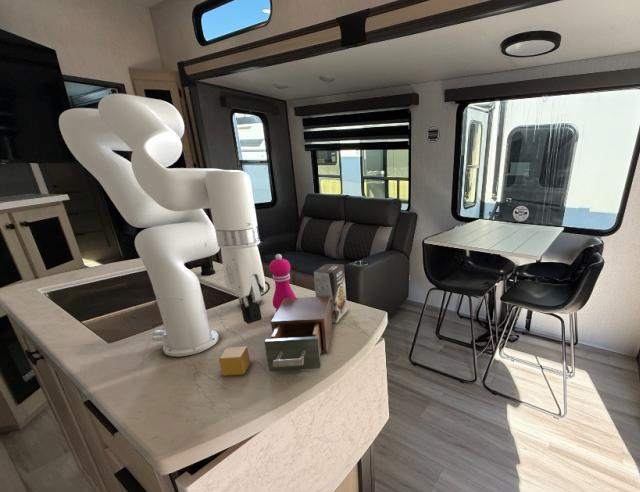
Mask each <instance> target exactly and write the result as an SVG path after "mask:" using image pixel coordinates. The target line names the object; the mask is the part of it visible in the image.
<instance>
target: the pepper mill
mask: <svg viewBox="0 0 640 492" xmlns="http://www.w3.org/2000/svg"><path fill="white" fill-rule="evenodd" d="M290 271H291V264H290V262H289V260H287V259H285V258H283V256H282V254H280V253H276V255H275V259H272V261H271V262H270V263H269V272H270V273H271V274H272V280H273V282H274V284H275V285H274V286H275V287H274V292H273V293H274V294H273V297H272V307H273V308H274V309H275V313H276V312H277V310H278V309H279V307H280V305H281V304H282V302H283V300H284V299H285V298H297V296H296V294H295V293H294V291H293V290H292V287H291V284H290V279H291V274H290Z"/></svg>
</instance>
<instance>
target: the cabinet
mask: <svg viewBox="0 0 640 492" xmlns="http://www.w3.org/2000/svg"><path fill="white" fill-rule="evenodd" d="M276 310H277V309H276ZM311 322H321V327H322V338H323V344H322V349H321V353H320V354H327V353H328V349H329V345H330V339H331V335H332V329H333V323H332V318H331V306H330V296H328V297H316V296H309V297H306V296H305V297H304V296H303V297H296V298H285V299H284V300H283V302H282V304H281V305H280V307H279V309H278V310H277V312H276V311H275V313H274V315H273V317H272V319H271V320H270V326H271V332H272V334H273V332H274V330H275V328H276V326H277V324H291V323H311Z"/></svg>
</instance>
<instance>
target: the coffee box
mask: <svg viewBox="0 0 640 492" xmlns="http://www.w3.org/2000/svg"><path fill="white" fill-rule="evenodd" d="M345 276H346V275H345V264H341V263H340V264H338V263H325V264H323V265H322V266H320V267H319V268H318V269H316V270H314V271H313V280H314V281H313V282H314V292H315V297H328V296H330V306H331V318H332V324H337V323H338V322H339V321H340V319H342V317H343V316H344V315H345V314H346V313H347V311H348V308H347V307H348V306H347V291H346V290H347V289H346V277H345Z"/></svg>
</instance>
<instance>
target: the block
mask: <svg viewBox="0 0 640 492" xmlns="http://www.w3.org/2000/svg"><path fill="white" fill-rule="evenodd" d="M218 362H219V365H220V370H221V374H222V376H238V375H244V374H245V373H246V371H247V369H248V368H249V366H250V364H251V360H250V354H249V347H248V346H231V347H230V346H229V347H226V348H225V349H224V351H223V352H222V354H221V355H220V356H219V358H218Z"/></svg>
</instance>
